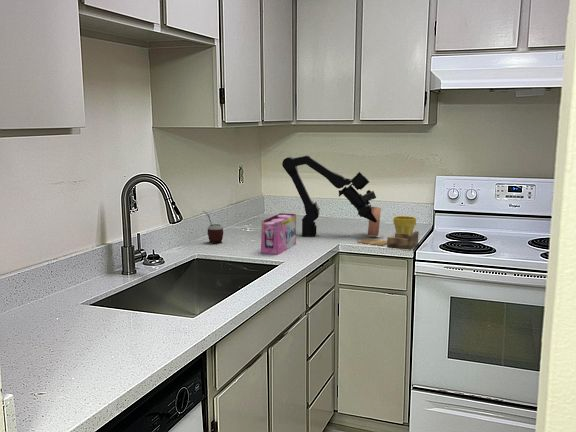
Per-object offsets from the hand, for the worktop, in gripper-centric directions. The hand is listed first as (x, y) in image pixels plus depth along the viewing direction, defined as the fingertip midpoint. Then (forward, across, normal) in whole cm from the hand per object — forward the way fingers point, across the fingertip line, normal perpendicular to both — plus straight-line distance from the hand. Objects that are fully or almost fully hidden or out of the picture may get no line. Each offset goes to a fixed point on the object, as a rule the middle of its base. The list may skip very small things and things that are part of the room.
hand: (376, 220), depth 264 cm
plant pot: (+15, +2, -4) cm, 16 cm away
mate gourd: (-44, -24, +57) cm, 76 cm away
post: (+4, 0, +6) cm, 7 cm away
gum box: (-23, -30, +36) cm, 52 cm away
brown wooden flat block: (+10, -14, +4) cm, 17 cm away
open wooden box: (+14, -16, -3) cm, 22 cm away
